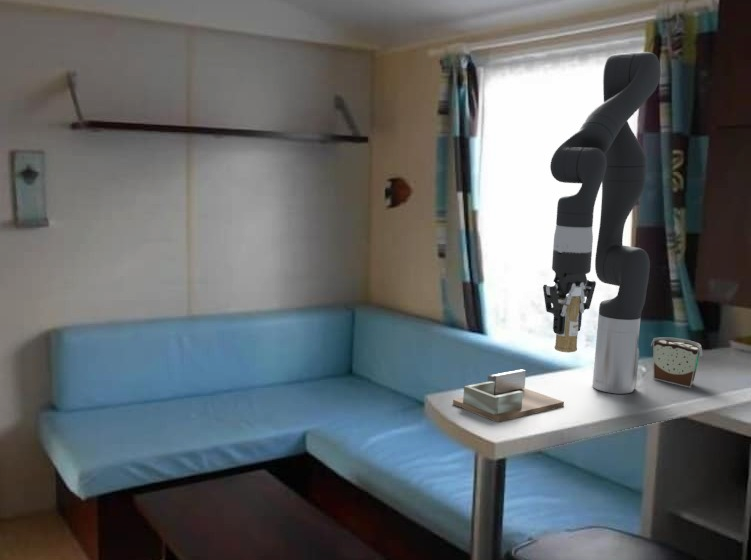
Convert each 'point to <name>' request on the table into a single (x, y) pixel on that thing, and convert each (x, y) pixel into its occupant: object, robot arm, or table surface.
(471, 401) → the cradle board
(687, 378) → the food container
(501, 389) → the bar
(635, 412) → the table surface
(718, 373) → the table surface
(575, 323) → the tan spice jar
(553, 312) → the robot arm
